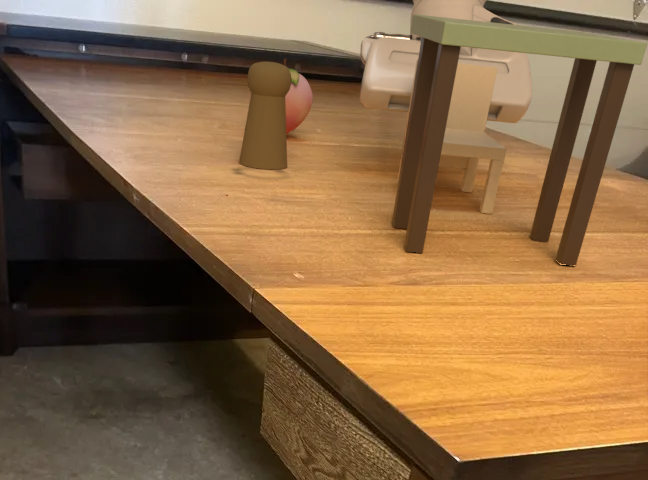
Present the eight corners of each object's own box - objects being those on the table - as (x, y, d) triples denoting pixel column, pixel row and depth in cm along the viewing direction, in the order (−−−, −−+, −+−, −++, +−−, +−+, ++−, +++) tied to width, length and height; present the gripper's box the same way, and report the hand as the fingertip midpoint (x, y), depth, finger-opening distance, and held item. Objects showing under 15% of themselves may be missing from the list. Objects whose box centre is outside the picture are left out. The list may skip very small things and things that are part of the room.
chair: (470, 190, 99) (495, 67, 92) (492, 214, 89) (523, 77, 82) (396, 183, 98) (416, 58, 91) (410, 206, 88) (434, 68, 81)
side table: (532, 225, 86) (581, 31, 76) (581, 269, 73) (648, 43, 63) (382, 211, 85) (413, 14, 75) (404, 254, 72) (444, 21, 62)
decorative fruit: (237, 130, 121) (241, 53, 115) (285, 131, 125) (292, 56, 119) (267, 143, 114) (273, 61, 109) (317, 143, 118) (325, 64, 112)
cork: (252, 157, 104) (259, 58, 98) (295, 165, 102) (304, 65, 96) (229, 163, 100) (235, 59, 94) (274, 171, 98) (282, 66, 92)
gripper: (366, 10, 95) (361, 115, 93) (537, 28, 97) (537, 133, 94) (357, 51, 102) (352, 150, 99) (518, 68, 103) (517, 166, 100)
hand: (443, 142), depth 96 cm, fingers closed, pressing on chair
